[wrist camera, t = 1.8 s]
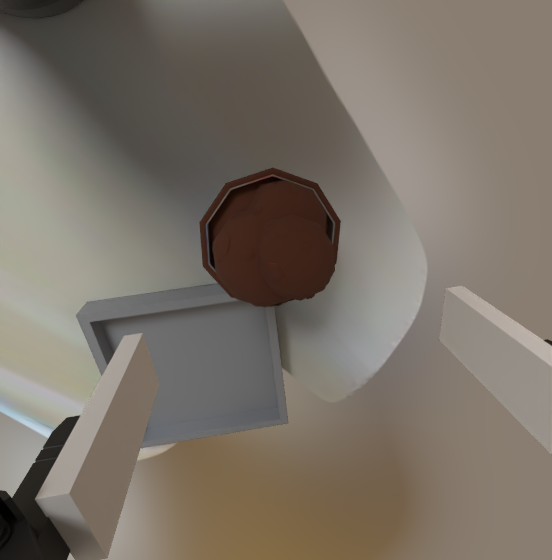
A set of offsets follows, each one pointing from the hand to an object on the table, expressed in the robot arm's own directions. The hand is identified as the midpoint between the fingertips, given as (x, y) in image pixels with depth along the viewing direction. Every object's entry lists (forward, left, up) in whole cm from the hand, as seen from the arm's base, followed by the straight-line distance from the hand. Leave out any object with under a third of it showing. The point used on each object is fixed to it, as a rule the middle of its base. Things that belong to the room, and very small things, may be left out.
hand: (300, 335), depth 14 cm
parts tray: (+17, -10, -22) cm, 29 cm away
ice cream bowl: (0, 0, -22) cm, 22 cm away
